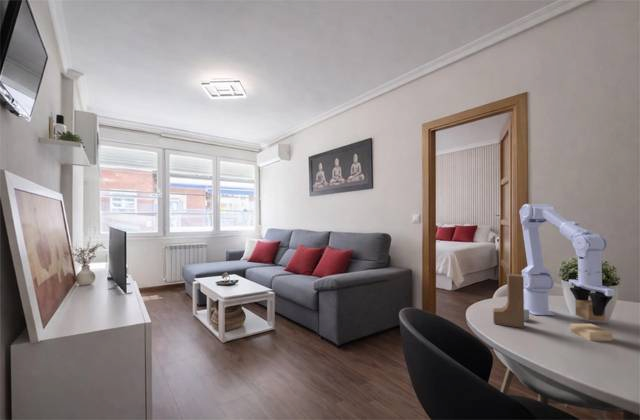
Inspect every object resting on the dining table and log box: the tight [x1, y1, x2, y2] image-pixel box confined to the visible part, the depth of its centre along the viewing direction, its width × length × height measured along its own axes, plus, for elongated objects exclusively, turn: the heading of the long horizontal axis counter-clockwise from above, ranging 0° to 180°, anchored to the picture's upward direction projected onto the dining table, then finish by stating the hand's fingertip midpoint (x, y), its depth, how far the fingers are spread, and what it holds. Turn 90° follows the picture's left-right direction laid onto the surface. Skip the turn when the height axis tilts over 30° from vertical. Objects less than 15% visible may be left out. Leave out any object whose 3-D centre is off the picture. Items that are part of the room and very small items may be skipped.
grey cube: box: [524, 308, 530, 322], centre depth 110 cm, size 4×4×4 cm
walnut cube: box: [575, 299, 606, 322], centre depth 94 cm, size 5×5×5 cm
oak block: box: [570, 323, 613, 342], centre depth 94 cm, size 7×7×3 cm
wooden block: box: [492, 273, 525, 329], centre depth 104 cm, size 9×4×18 cm, turn 61°
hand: (590, 312), depth 94 cm, fingers closed on walnut cube, 5 cm apart
